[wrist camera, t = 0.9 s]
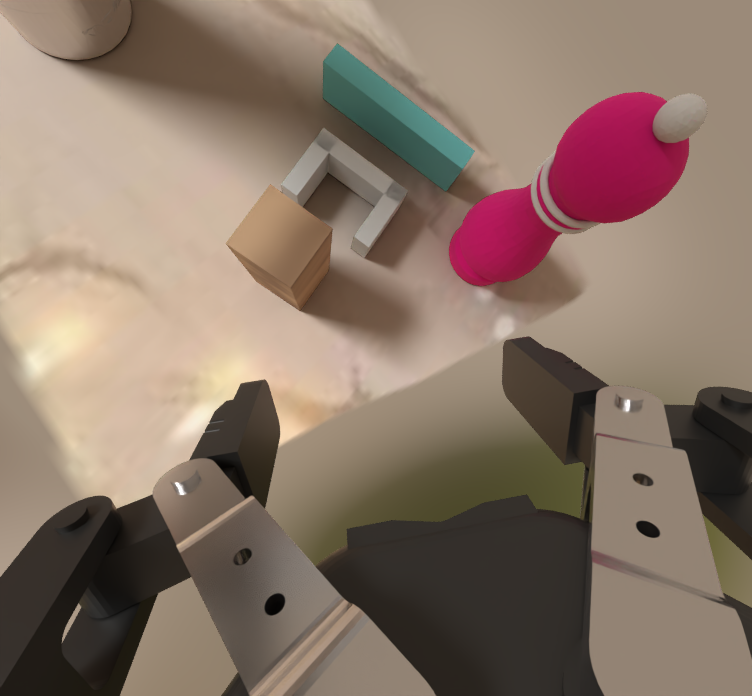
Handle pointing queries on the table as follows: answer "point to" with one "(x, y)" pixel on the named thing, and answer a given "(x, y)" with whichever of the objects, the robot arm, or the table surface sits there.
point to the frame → (353, 173)
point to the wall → (393, 118)
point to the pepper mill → (581, 184)
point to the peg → (283, 247)
